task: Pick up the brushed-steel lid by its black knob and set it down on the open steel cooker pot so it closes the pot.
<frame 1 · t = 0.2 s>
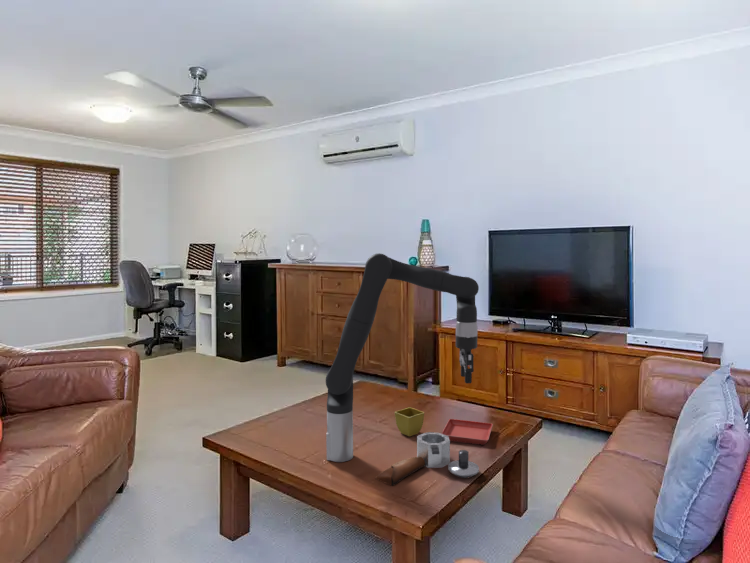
hand: (466, 379, 176), 28 cm above the table, fingers open, 8 cm apart
sunglasses case: (400, 474, 167), on the table
pot: (433, 460, 176), on the table
plant saucer: (467, 437, 199), on the table
flower pot: (409, 434, 201), on the table
lid: (463, 473, 166), on the table
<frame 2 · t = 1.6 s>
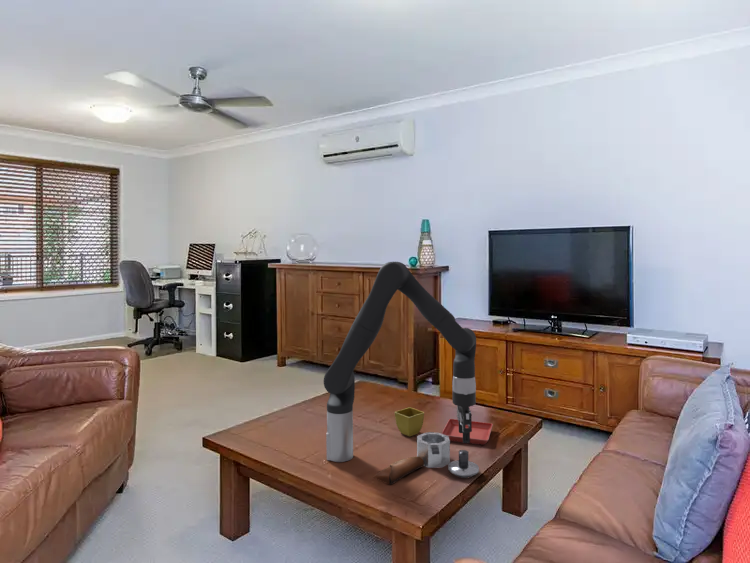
hand: (464, 437, 165), 12 cm above the table, fingers open, 8 cm apart
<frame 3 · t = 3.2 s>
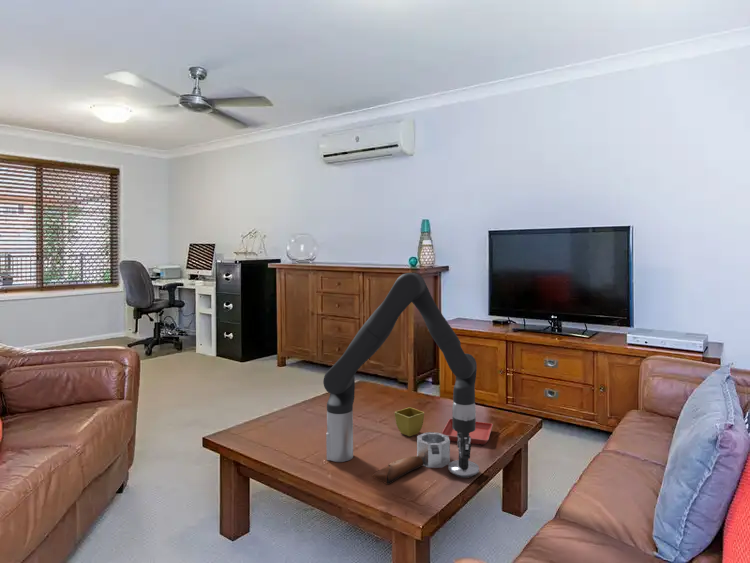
hand: (463, 465, 166), 3 cm above the table, fingers closed on lid, 3 cm apart
lid: (463, 473, 166), on the table, touching gripper
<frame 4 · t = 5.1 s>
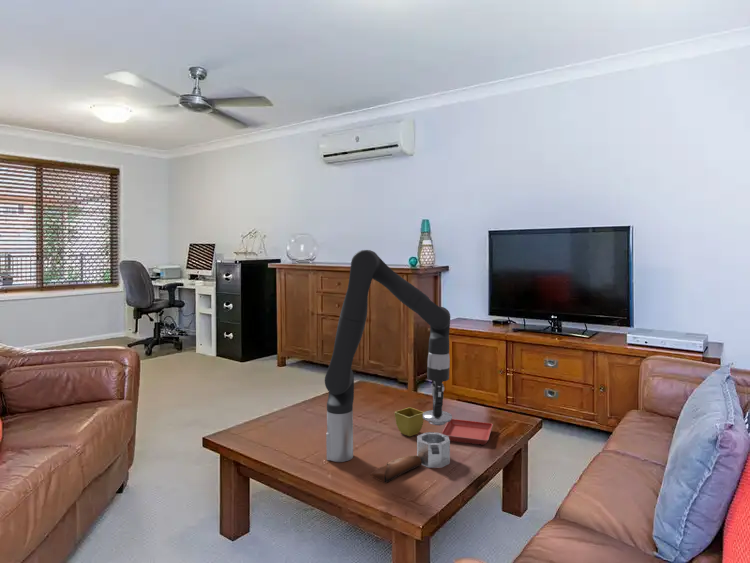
hand: (437, 414, 173), 17 cm above the table, fingers closed on lid, 3 cm apart
lid: (437, 422, 173), point 15 cm above the table, touching gripper
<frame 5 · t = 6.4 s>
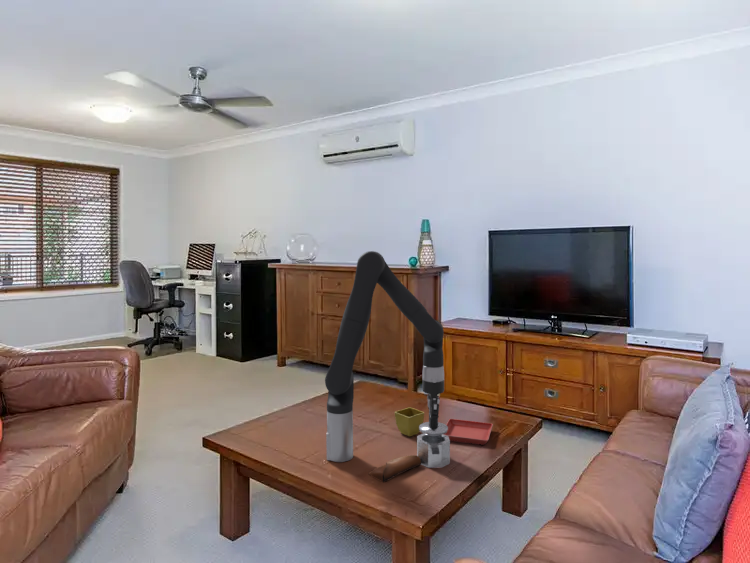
hand: (433, 426, 175), 12 cm above the table, fingers closed on lid, 3 cm apart
lid: (433, 433, 175), point 10 cm above the table, touching gripper
when the fingers open (10 cm above the table, at t = 7.1 s): lid stays where it is, resting on pot.
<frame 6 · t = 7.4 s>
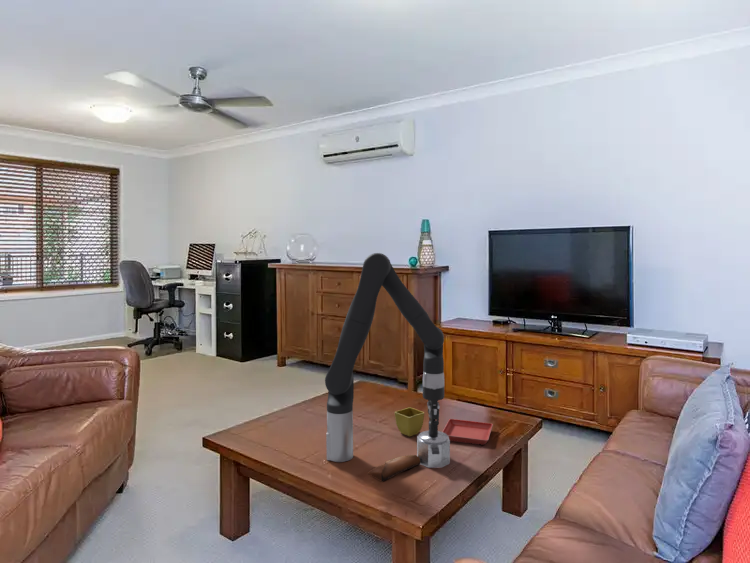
hand: (433, 431, 175), 10 cm above the table, fingers open, 5 cm apart
lid: (433, 442, 176), point 6 cm above the table, touching pot
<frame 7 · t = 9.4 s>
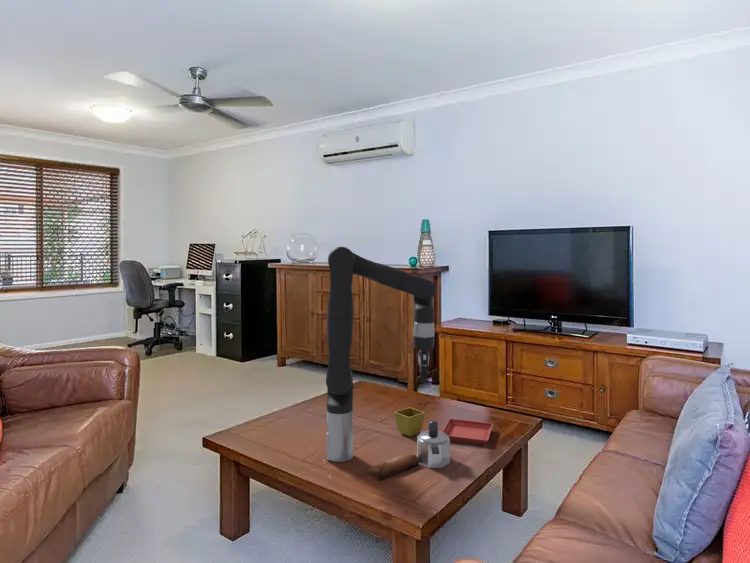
hand: (423, 378, 181), 28 cm above the table, fingers open, 8 cm apart
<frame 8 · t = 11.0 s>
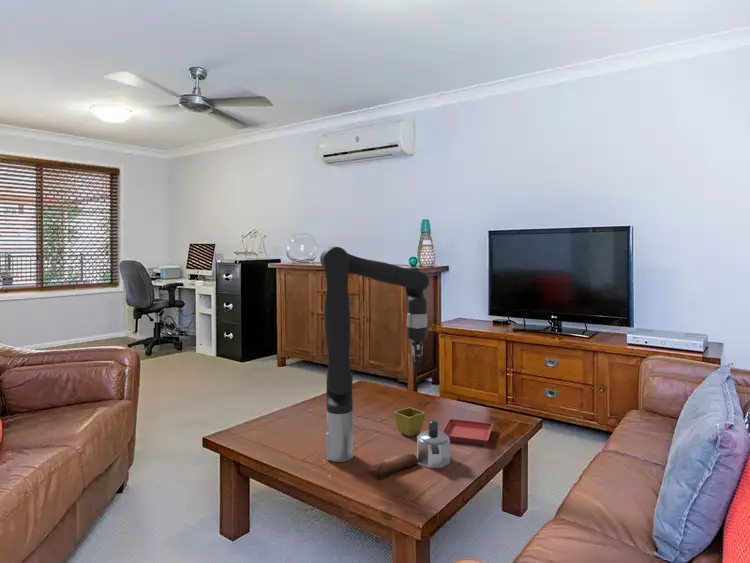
hand: (416, 368, 185), 30 cm above the table, fingers open, 8 cm apart
at the end: lid 0.0 cm off-centre on the pot, point 6.5 cm above the pot's base; lid tilted 0°; the gripper is holding nothing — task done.
